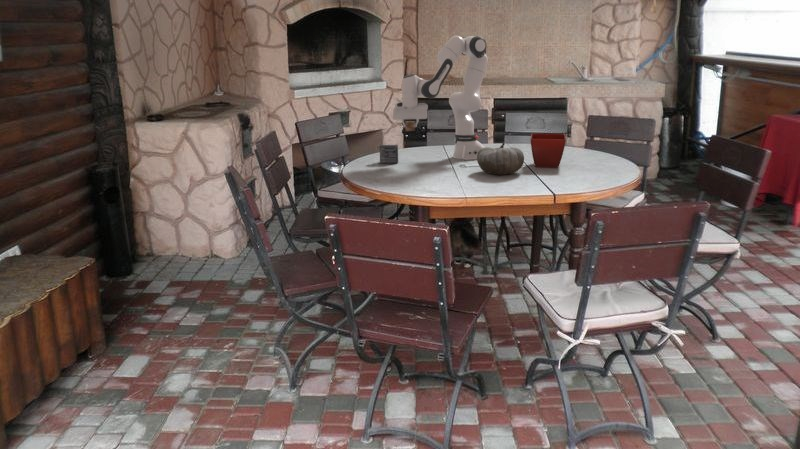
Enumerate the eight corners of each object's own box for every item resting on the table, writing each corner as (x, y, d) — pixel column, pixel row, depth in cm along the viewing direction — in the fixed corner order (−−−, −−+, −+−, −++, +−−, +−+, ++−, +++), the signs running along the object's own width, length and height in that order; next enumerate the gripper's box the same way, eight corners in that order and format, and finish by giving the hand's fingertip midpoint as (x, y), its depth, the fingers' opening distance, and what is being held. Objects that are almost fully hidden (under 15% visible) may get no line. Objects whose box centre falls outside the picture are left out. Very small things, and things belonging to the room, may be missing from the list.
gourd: (507, 175, 359) (505, 141, 357) (468, 177, 375) (466, 145, 374) (532, 172, 377) (530, 140, 376) (494, 174, 394) (492, 143, 392)
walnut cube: (414, 129, 407) (414, 121, 406) (414, 130, 402) (414, 122, 401) (405, 129, 407) (405, 121, 406) (406, 131, 402) (406, 122, 401)
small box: (398, 161, 414) (398, 144, 411) (397, 164, 407) (397, 146, 404) (381, 161, 415) (380, 144, 412) (379, 163, 408) (379, 146, 406)
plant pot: (564, 169, 384) (565, 139, 380) (529, 168, 388) (530, 138, 383) (563, 162, 402) (565, 133, 398) (530, 162, 406) (531, 133, 401)
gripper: (427, 102, 403) (427, 125, 407) (392, 102, 403) (392, 126, 407) (428, 103, 397) (428, 127, 401) (392, 104, 397) (393, 128, 401)
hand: (410, 127), depth 404 cm, fingers closed on walnut cube, 5 cm apart
